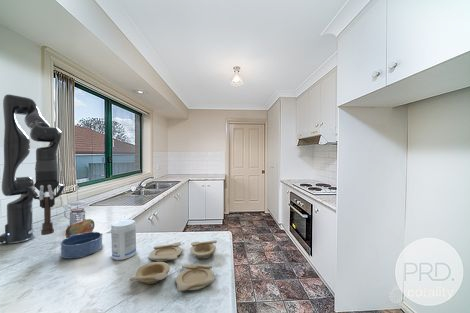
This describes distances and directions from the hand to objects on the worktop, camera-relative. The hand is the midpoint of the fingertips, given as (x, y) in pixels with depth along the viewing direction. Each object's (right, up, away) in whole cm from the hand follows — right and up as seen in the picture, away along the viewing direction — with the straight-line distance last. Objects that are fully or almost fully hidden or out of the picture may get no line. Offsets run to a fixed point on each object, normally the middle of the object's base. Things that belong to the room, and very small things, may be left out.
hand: (47, 207), depth 93 cm
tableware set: (+65, -21, -12) cm, 69 cm away
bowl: (+16, -21, +1) cm, 26 cm away
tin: (+2, -21, +17) cm, 27 cm away
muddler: (0, -12, 0) cm, 12 cm away
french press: (-15, -21, +35) cm, 44 cm away
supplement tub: (+37, -21, -3) cm, 43 cm away
